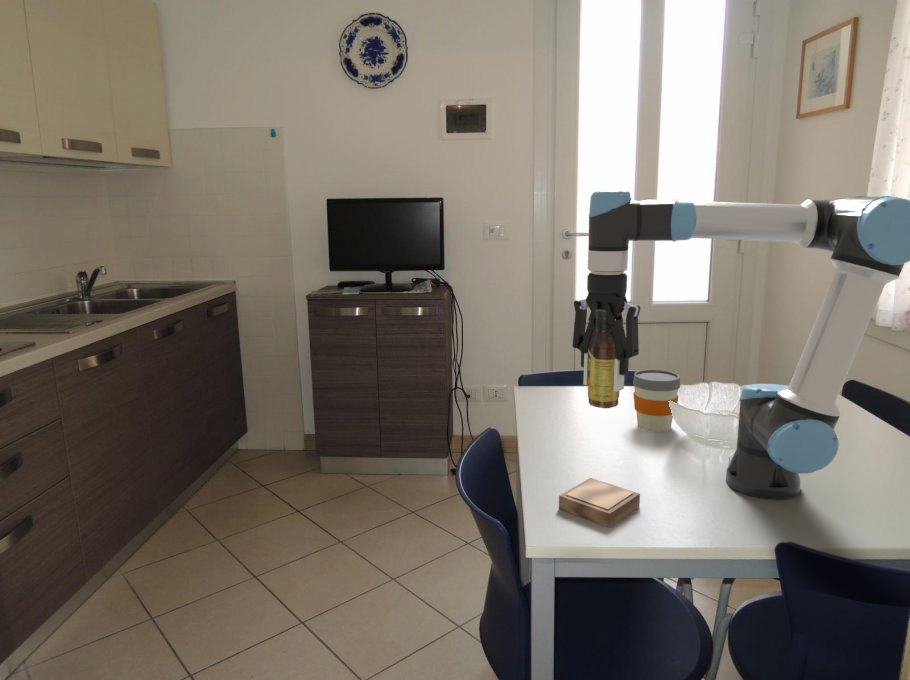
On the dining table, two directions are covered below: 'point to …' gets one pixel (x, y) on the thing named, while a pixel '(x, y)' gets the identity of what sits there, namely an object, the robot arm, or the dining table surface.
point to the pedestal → (599, 502)
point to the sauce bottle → (602, 364)
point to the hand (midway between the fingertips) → (603, 386)
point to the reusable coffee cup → (655, 398)
